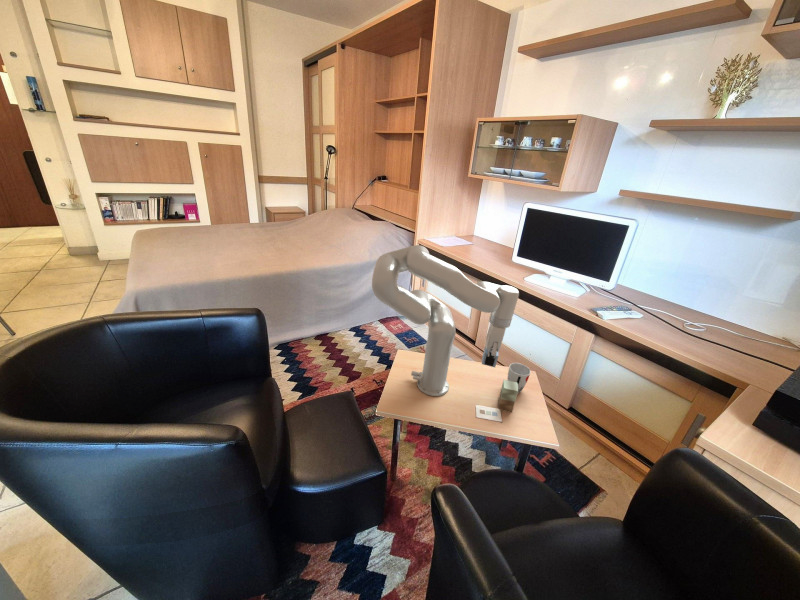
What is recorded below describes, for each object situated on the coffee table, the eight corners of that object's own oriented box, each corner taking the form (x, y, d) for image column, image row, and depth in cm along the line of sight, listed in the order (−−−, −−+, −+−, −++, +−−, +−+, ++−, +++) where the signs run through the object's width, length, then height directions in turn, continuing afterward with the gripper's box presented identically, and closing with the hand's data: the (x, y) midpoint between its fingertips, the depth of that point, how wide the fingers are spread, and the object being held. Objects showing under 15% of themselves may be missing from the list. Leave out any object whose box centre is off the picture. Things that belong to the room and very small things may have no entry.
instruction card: (476, 417, 118) (476, 416, 118) (475, 405, 124) (475, 404, 124) (501, 422, 117) (502, 421, 117) (500, 409, 123) (500, 408, 122)
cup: (511, 396, 130) (516, 376, 125) (500, 383, 137) (505, 363, 132) (528, 394, 132) (535, 374, 128) (517, 381, 139) (522, 361, 135)
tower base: (498, 409, 123) (503, 387, 119) (498, 400, 127) (503, 379, 123) (511, 412, 122) (518, 391, 118) (511, 403, 126) (517, 382, 122)
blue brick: (481, 364, 125) (484, 353, 123) (482, 357, 129) (485, 346, 127) (495, 367, 124) (498, 356, 122) (495, 360, 128) (498, 349, 126)
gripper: (490, 307, 127) (479, 347, 135) (489, 327, 112) (477, 371, 119) (510, 311, 126) (498, 351, 133) (512, 332, 110) (498, 376, 118)
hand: (488, 360), depth 126 cm, fingers closed on blue brick, 5 cm apart
